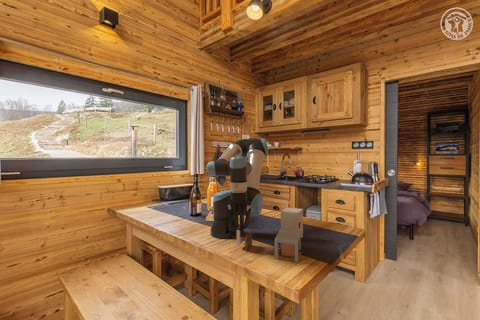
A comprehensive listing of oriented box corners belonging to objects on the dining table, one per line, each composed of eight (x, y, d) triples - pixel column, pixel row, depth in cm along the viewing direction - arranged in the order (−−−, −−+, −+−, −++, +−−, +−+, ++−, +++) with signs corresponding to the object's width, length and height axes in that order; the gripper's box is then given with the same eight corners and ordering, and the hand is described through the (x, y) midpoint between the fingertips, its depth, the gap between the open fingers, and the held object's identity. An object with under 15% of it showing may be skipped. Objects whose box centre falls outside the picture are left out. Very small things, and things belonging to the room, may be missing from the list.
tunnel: (274, 262, 89) (274, 239, 89) (280, 248, 102) (280, 228, 101) (297, 265, 86) (297, 242, 86) (300, 251, 98) (300, 230, 98)
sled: (245, 253, 97) (244, 236, 97) (250, 247, 103) (249, 230, 103) (300, 261, 89) (299, 242, 89) (301, 254, 95) (301, 236, 95)
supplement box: (298, 244, 107) (297, 212, 106) (280, 240, 112) (279, 210, 111) (303, 237, 114) (303, 208, 114) (286, 234, 119) (286, 206, 119)
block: (281, 255, 92) (281, 240, 92) (283, 250, 97) (283, 236, 97) (293, 256, 91) (293, 242, 90) (295, 251, 95) (295, 237, 95)
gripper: (221, 192, 99) (222, 244, 100) (249, 193, 95) (250, 248, 95) (228, 189, 106) (229, 238, 107) (255, 190, 102) (255, 242, 102)
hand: (239, 243), depth 101 cm, fingers closed
